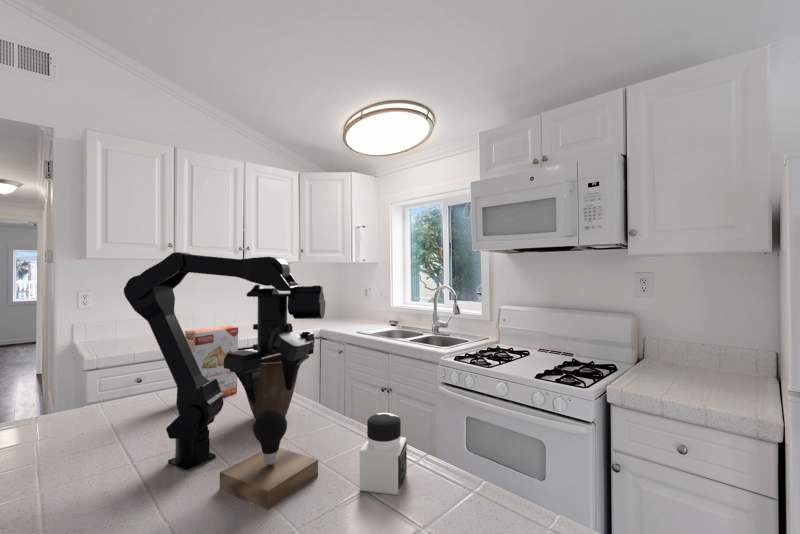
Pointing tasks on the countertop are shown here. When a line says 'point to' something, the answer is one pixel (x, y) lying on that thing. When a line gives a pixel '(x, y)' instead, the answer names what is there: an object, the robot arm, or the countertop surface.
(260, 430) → the light bulb
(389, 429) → the medicine bottle
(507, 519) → the countertop surface
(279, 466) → the walnut base
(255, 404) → the plant pot
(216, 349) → the cracker box
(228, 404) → the countertop surface
